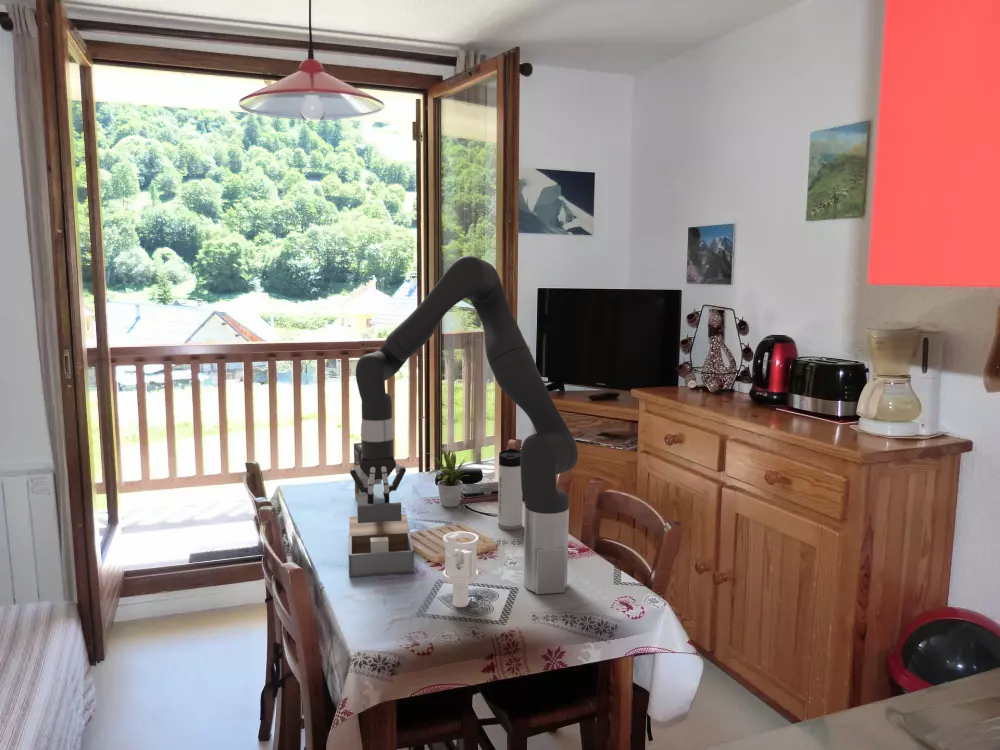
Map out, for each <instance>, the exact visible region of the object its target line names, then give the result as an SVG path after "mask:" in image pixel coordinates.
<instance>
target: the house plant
mask: <svg viewBox="0 0 1000 750" xmlns="http://www.w3.org/2000/svg"><path fill="white" fill-rule="evenodd" d="M441 448H442V449H441V450H442V452H443V458H444V462H445V465H444V464H443V463H442V462H441V461H440V460H439V459H438V458H436V456H435V455H434V454H431V452H430V453H429V452H427V454H429V455H430V457H431V458H434V459H435V463H436V464H437V465H438V466H439V467H440V469H438V470H435V469H433V468H431V467H429V469H430V470H432V471H430V472H428V475H431V474H432V473H434V474H436V475H438V476H437V480H439V481H437V486H438V487H437V488H438V493H439V499H440V505H441V506H443V507H445V508H452V507H453V508H454V507H457V506H460V503H461V495H462V490H463V485H464V483H463V481H462V480H461V479H462V478H464V477H466V476H468V477H470V475H469V474H465V473H464V471H462V470H463V469H464V468H465V466H463V464H464V463H465V462H466V461H467V459H466V458H467V457H468V454H467V455H466V456H465V457H464V458H463V460H462V461H461V463H460V464H459V466H458V467H457V469H456V464H457V455H456V453H455V449H456V448H454V449H453V450H452V448H449V450H448V452H447V451H446V450H445V448H444V447H441ZM465 459H466V460H465ZM430 461H433V459H430ZM467 468H469V467H468V466H467ZM441 472H442V473H443V474H442V473H441ZM462 474H465V475H462ZM461 475H462V476H461ZM440 479H441V480H440Z"/></svg>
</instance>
